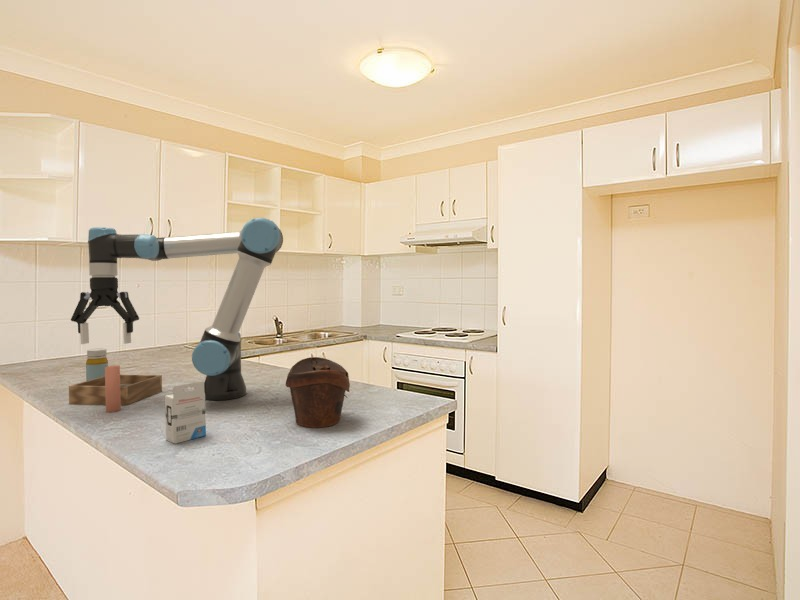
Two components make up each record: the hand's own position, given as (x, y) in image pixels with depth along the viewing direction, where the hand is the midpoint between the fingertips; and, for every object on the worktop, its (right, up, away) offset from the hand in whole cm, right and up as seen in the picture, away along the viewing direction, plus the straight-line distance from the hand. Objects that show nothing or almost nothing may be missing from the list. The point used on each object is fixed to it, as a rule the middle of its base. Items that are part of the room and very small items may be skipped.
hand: (106, 343), depth 146 cm
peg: (+3, -21, -1) cm, 21 cm away
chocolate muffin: (+70, -22, -12) cm, 74 cm away
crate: (-6, -21, +16) cm, 27 cm away
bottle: (-22, -20, +29) cm, 42 cm away
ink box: (+38, -22, -27) cm, 51 cm away
